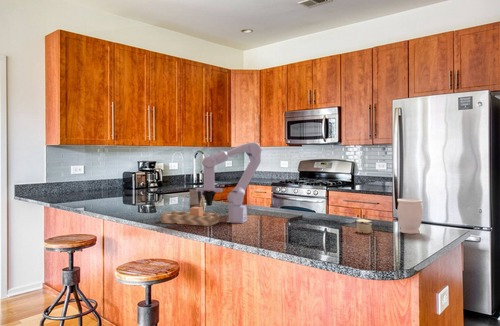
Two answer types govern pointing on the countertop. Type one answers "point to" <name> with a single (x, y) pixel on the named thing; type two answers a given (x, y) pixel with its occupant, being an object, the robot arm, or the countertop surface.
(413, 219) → the jar
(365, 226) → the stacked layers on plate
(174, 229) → the countertop surface
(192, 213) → the terracotta block
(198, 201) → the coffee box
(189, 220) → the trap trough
